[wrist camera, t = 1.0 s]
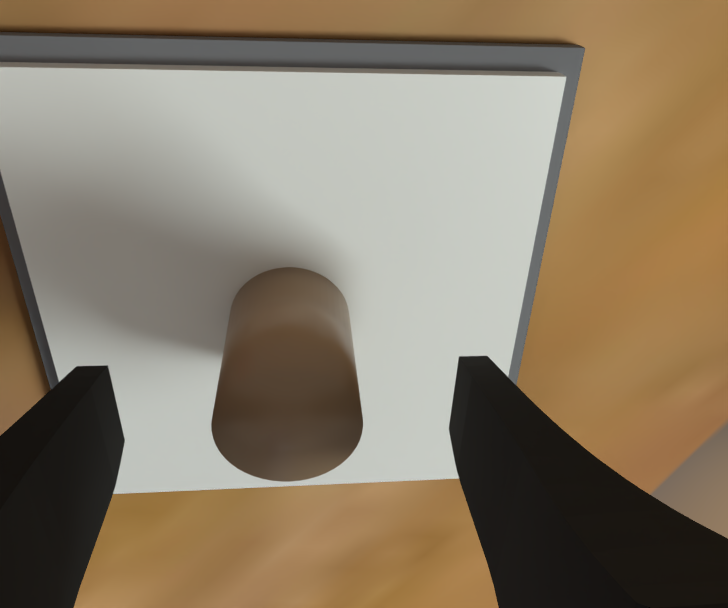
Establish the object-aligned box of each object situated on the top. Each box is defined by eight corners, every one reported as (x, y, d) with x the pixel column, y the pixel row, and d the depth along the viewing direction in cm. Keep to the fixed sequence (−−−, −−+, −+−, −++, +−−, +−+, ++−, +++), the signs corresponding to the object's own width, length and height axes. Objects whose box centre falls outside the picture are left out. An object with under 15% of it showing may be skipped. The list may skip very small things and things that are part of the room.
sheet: (484, 465, 20) (528, 594, 16) (95, 482, 19) (44, 625, 15) (558, 71, 14) (658, 130, 10) (-18, 61, 13) (-155, 123, 9)
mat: (494, 466, 21) (497, 475, 20) (85, 484, 19) (81, 494, 19) (578, 44, 14) (585, 47, 14) (-43, 30, 13) (-52, 34, 12)
